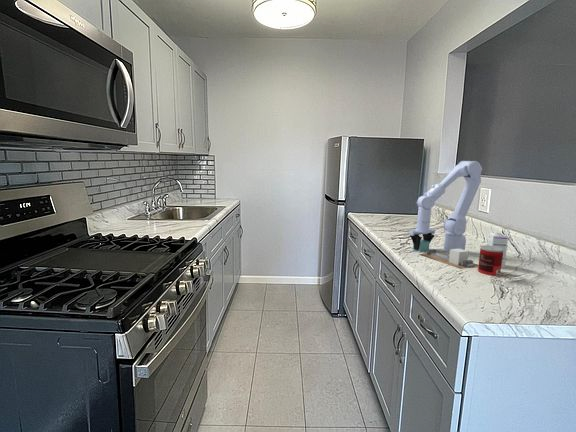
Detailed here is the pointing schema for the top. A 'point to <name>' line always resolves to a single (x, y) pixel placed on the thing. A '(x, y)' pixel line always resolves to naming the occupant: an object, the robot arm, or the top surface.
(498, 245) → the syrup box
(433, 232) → the robot arm
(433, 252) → the steel rail
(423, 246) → the teal module
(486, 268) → the canned food
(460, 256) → the grey module
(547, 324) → the top surface
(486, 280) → the top surface
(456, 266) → the mounting board
